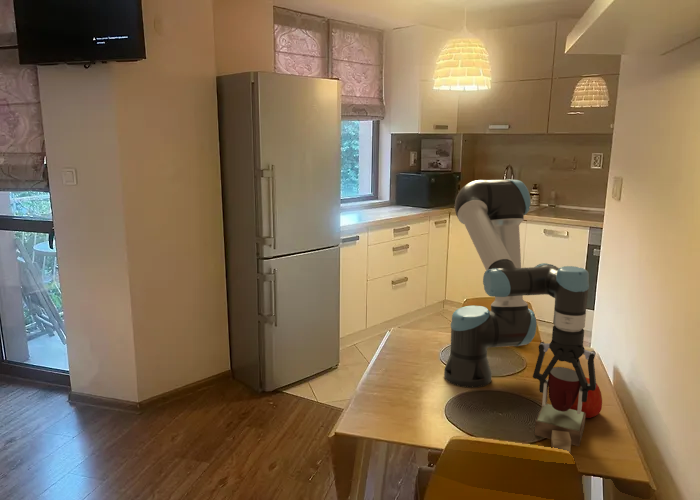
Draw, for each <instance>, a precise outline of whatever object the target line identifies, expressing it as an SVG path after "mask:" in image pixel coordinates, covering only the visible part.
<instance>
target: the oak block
mask: <svg viewBox="0 0 700 500" xmlns="http://www.w3.org/2000/svg"><path fill="white" fill-rule="evenodd" d="M550 441H551V442H550V444H551V445H550V446H551V448H552V447H554V448H558V449H563V450H567V451H569V452H570V453H571V447H572V445H571V438H570V434H569V432H564V431H556V430H552V439H550Z"/></svg>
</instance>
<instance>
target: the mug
mask: <svg viewBox="0 0 700 500" xmlns="http://www.w3.org/2000/svg"><path fill="white" fill-rule="evenodd" d="M547 380H548V398H549V401H550V404H551V405H552V407H553V408H554V409H556V410H558V411H562V412H564V411H567V410H569V409H570V408H571V406H572V405H573V404H574V402H575V400H576V398H577V395H578V392H579V390H580V387H581V384H580V382H579V379H578V376H577V374H576V371H575V369H572V368H569V367H564V366H563V367H562V366H554V367H553V368H552V370H551V372H550V373H549V375H548V376H547Z"/></svg>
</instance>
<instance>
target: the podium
mask: <svg viewBox="0 0 700 500" xmlns="http://www.w3.org/2000/svg"><path fill="white" fill-rule="evenodd" d="M585 416H586V413H584V412H581V413H580V414H577V410H572V409H569V410H567V411H564V412H562V411H558V410H556V409H554V408H553V407H552V404H551V403H546V405H545V406H542V405H541V407H540V410H539V412H538V415H537V417H536V420H535V423H534V436H536V437H537V436H538V437H541V438H543V439H544V438H545V439H549V440H551V439H552V430H556V431H564V432H569V434H570V438H571V446H575V447H580V445H581V441H582V437H583V434H584V429H585V423H586V418H585Z"/></svg>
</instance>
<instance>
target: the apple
mask: <svg viewBox="0 0 700 500" xmlns="http://www.w3.org/2000/svg"><path fill="white" fill-rule="evenodd" d="M586 380H587V383H588V384H590V382H589V377H586ZM578 398H579V392H578V395H577V398H576V400H575V402H574V404H573V405H572V406H571V408H570V409H572V410H577V409H578ZM602 406H603V397H602V391H601V389H600V386H599V385H598V383H597V382H596V389H595V390H594V391H592V390H589V391H588V396H587V401H586V402H582V410H581V412H584V413H586V416H585V419H590V418H594V417H596V416H598V415H599V414H600V413H601V411H602V408H603V407H602Z"/></svg>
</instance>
